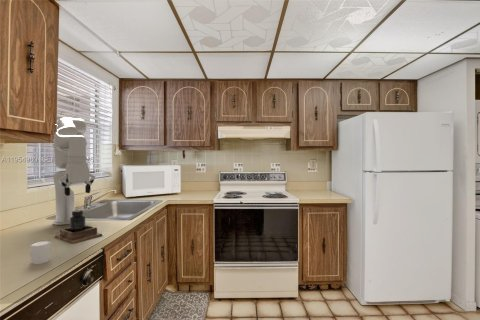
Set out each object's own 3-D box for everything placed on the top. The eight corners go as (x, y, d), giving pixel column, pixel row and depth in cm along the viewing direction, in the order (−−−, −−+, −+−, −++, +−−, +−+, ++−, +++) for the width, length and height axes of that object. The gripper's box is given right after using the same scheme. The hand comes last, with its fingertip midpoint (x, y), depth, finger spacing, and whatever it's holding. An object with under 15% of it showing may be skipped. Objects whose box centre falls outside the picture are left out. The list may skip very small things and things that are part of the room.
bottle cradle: (54, 237, 134) (54, 229, 134) (83, 230, 146) (83, 223, 146) (73, 243, 125) (72, 235, 124) (102, 235, 136) (102, 228, 136)
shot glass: (55, 257, 108) (54, 240, 108) (45, 264, 101) (45, 245, 101) (36, 258, 107) (36, 241, 107) (25, 265, 100) (25, 246, 100)
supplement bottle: (88, 232, 138) (88, 209, 138) (80, 236, 132) (80, 212, 131) (75, 232, 138) (75, 209, 138) (66, 236, 132) (66, 212, 131)
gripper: (90, 159, 144) (91, 191, 144) (54, 160, 129) (55, 195, 130) (98, 160, 140) (98, 192, 140) (62, 160, 125) (62, 197, 126)
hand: (78, 194), depth 135 cm, fingers open, 9 cm apart
